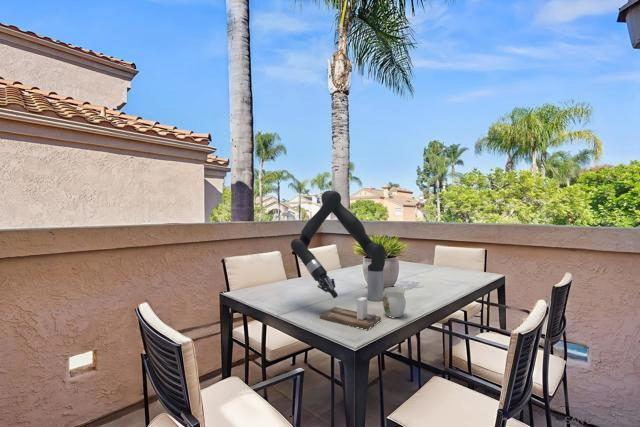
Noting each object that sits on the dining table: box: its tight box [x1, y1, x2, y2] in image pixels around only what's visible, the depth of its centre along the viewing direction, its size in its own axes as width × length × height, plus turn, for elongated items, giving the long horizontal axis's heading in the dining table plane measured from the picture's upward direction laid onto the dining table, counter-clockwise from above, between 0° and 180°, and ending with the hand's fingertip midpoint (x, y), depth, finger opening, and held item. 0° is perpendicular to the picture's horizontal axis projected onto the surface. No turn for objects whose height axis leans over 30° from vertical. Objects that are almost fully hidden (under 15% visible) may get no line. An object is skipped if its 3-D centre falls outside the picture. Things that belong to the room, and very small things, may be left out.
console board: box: [319, 306, 382, 330], centre depth 151 cm, size 14×26×4 cm, turn 55°
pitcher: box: [382, 286, 406, 318], centre depth 157 cm, size 11×18×14 cm, turn 15°
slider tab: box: [356, 296, 368, 320], centre depth 147 cm, size 5×3×9 cm, turn 145°
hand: (336, 296), depth 155 cm, fingers closed
